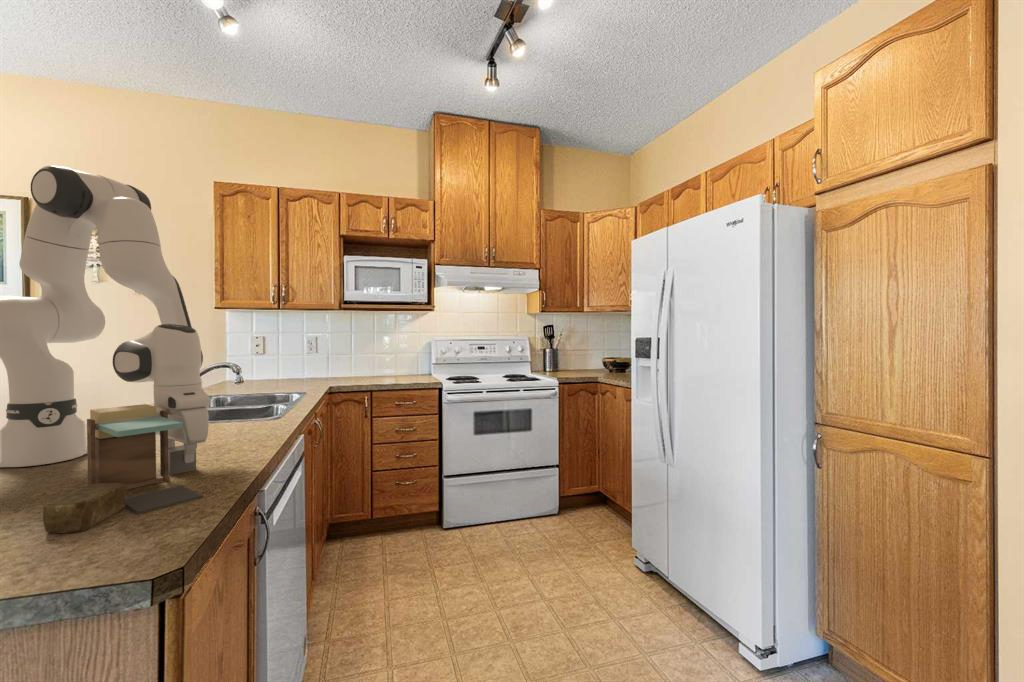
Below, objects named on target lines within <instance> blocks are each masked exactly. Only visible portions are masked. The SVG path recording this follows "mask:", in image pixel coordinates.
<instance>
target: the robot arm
mask: <svg viewBox="0 0 1024 682" xmlns="http://www.w3.org/2000/svg"><path fill="white" fill-rule="evenodd" d="M31 178H32V179H31V182H30V194H31V197H32V199H33V200H34V203H35V206H34V208H33V210H32V213H31V214H30V215H31V216H30V217H29V221H28V224H27V226H26V231H25V235H24V238H23V244H22V248H21V254H20V259H19V268H20V270H21V271H22V273H23V274H24V275H25V276H27V277H28V278H30V280H32V281H34V282H36V283H38V284H39V285H40V288H41V295H40V297H35V296H34V297H33V296H18V295H17V296H16V295H1V296H0V360H1V361H2V363H3V366H4V368H5V371H6V374H7V383H8V396H9V397H8V399H9V402H8V403H7V404H6V408H5V413H6V416H5V417H6V419H7V422H6V424H5V425H3V426H2V427H1V429H0V468H21V467H22V468H23V467H32V466H41V465H46V464H47V465H49V464H55V463H59V462H64V461H68V460H73V459H77V458H79V457H82V456H85V455H87V431H86V423H85V420H84V419H82V418H80V417H78V416H77V414H76V413H78V410H77V409H78V408H77V407H78V403H77V398H75V390H74V389H75V384H74V383H75V382H74V381H75V380H74V378H75V377H74V372H75V371H74V370H73V367H71V365H70V364H69V363H67V362H65V361H63V360H62V359H59V358H56V357H54V356H53V354H52V353H51V351H50V350H49V349H50V348H49V347H48V344H72V343H78V342H85V341H89V340H95V339H96V338H98V337H99V336H100V335H101V334H102V332H103V331H104V329H105V326H106V317H105V314H104V312H103V311H102V309H101V308H100V307H99V306H98V305H96V304H95V303H94V302H93V300H92V299H91V298H90V296H89V293H88V292H87V290H86V289H87V288H86V283H85V273H86V268H87V266H86V265H87V261H88V257H89V256H88V255H89V250H90V245H91V241H92V240H91V239H92V235H93V232H94V230H95V229H96V230H97V240H98V241H97V242H98V250H99V251H98V252H99V257H100V258H99V259H100V263H101V266H102V268H103V270H104V272H105V273H106V275H108V277H109V278H111V280H113V281H115V282H116V283H118V284H119V285H121V286H123V287H125V288H128V289H131V291H132V290H133V291H135V292H137V293H139V294H141V295H142V296H144V297H145V298H147V299H148V300H149V301H150V302H151V303H152V304H153V305H154V306H155V308H156V310H157V314H158V317H159V320H160V324H159V325H157V326H155V327H154V328H153V330H152V331H151V332H149V333H148V334H146V335H143V336H141V337H138V338H135V339H132V340H127V341H124V342H122V343H121V344H119V345H118V347H116V349H115V350H114V352H113V355H112V367H113V370H114V372H115V374H116V375H117V377H119V378H120V379H121V380H123V381H125V382H127V383H147V382H153V406H155V407H156V415H160V411H167V412H168V419H172V420H175V421H179V422H183V428H178V429H171V430H168V448H169V447H175V446H176V443H175V441H177V442H180V443H182V445H184V448H185V449H184V454H182V458H183V459H182V460H183V462H185V463H190V462H193V461H194V454H195V451H196V452H197V447H198V444H202V443H205V442H206V441H207V438H208V435H209V420H210V419H209V418H210V417H209V409H208V407H210V406H211V397H210V395H208V394H207V393H206V392H205V390H204V389H203V381H202V378H201V373H200V370H201V367H202V365H203V361H204V354H203V350H202V347H201V341H200V336H199V333H198V331H197V329H195V328H194V327H192V323H191V319H190V317H189V312H188V309H187V306H186V302H185V299H184V295H183V292H182V288H181V286H180V284H179V282H178V280H177V279H176V277H175V276H173V275H172V273H171V272H170V270H169V268H168V266H167V264H166V262H165V258H164V256H163V252H162V247H161V241H160V240H161V239H160V235H159V231H158V226H157V223H156V221H155V217H154V215H153V211H152V204H151V201H150V198H149V197H148V196H147V195H146V193H144V192H143V191H142V190H140V189H138V188H136V187H134V186H132V185H130V184H124V183H123V182H120V181H118V180H114V179H113V178H109V177H106V176H103V175H100V174H93V173H89V172H85V171H80V170H75V169H72V168H70V167H68V166H67V167H66V166H60V165H59V166H57V165H46V166H43V167H41V168H39V170H37V172H35V174H34V175H33V177H31ZM156 436H159V437H160V431H157V432H156Z"/></svg>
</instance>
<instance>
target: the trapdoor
mask: <svg viewBox="0 0 1024 682" xmlns="http://www.w3.org/2000/svg"><path fill="white" fill-rule="evenodd" d="M89 411H90V414H89V415H90V417H89V419H93V420H95V437H97V438H99V439H104V438H111V437H123V436H130V435H136V434H143V433H150V432H157V431H164V430H171V429H178V428H183V422H179V421H175V420H172V419H168V418H164V417H161V415H156V407H155V406H154V405H151V404H147V403H144V404H133V405H125V406H124V405H123V406H116V407H104V408H94V409H89Z"/></svg>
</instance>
